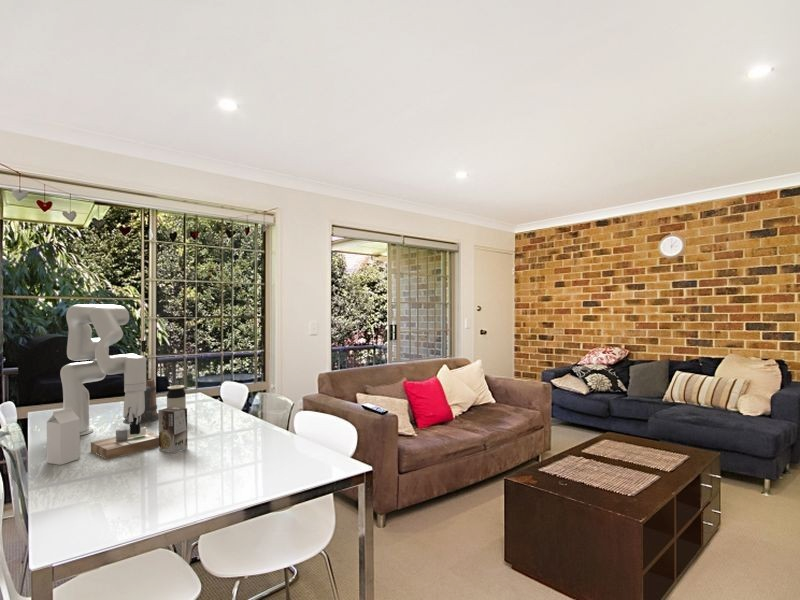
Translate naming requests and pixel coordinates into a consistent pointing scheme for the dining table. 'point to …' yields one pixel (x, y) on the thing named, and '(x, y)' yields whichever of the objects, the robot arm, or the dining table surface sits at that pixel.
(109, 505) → the dining table surface
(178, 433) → the coffee box
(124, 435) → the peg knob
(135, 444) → the board
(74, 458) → the milk carton
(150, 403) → the tankard
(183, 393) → the travel mug
